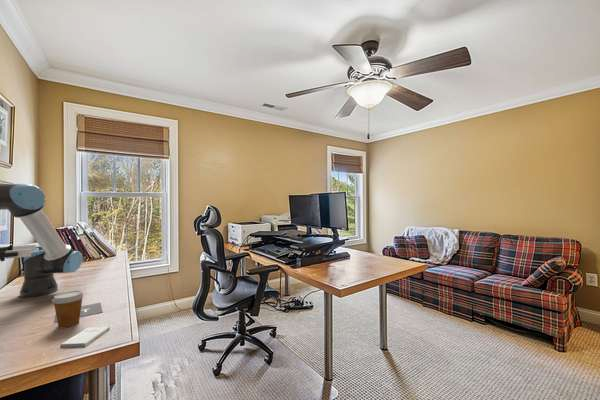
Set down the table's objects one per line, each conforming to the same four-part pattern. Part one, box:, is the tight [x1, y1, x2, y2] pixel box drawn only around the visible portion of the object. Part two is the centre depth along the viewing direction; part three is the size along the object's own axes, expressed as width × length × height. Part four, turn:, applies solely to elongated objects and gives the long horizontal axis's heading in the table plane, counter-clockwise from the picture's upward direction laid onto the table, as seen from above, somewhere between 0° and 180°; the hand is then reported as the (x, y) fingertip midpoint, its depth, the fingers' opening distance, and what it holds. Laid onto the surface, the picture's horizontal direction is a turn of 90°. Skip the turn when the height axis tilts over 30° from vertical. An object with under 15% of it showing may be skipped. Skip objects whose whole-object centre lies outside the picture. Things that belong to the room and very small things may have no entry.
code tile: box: [53, 302, 103, 324], centre depth 121 cm, size 15×16×1 cm
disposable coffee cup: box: [52, 290, 85, 329], centre depth 108 cm, size 10×10×12 cm
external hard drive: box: [59, 326, 111, 348], centre depth 97 cm, size 2×8×12 cm
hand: (33, 250), depth 107 cm, fingers open, 13 cm apart
